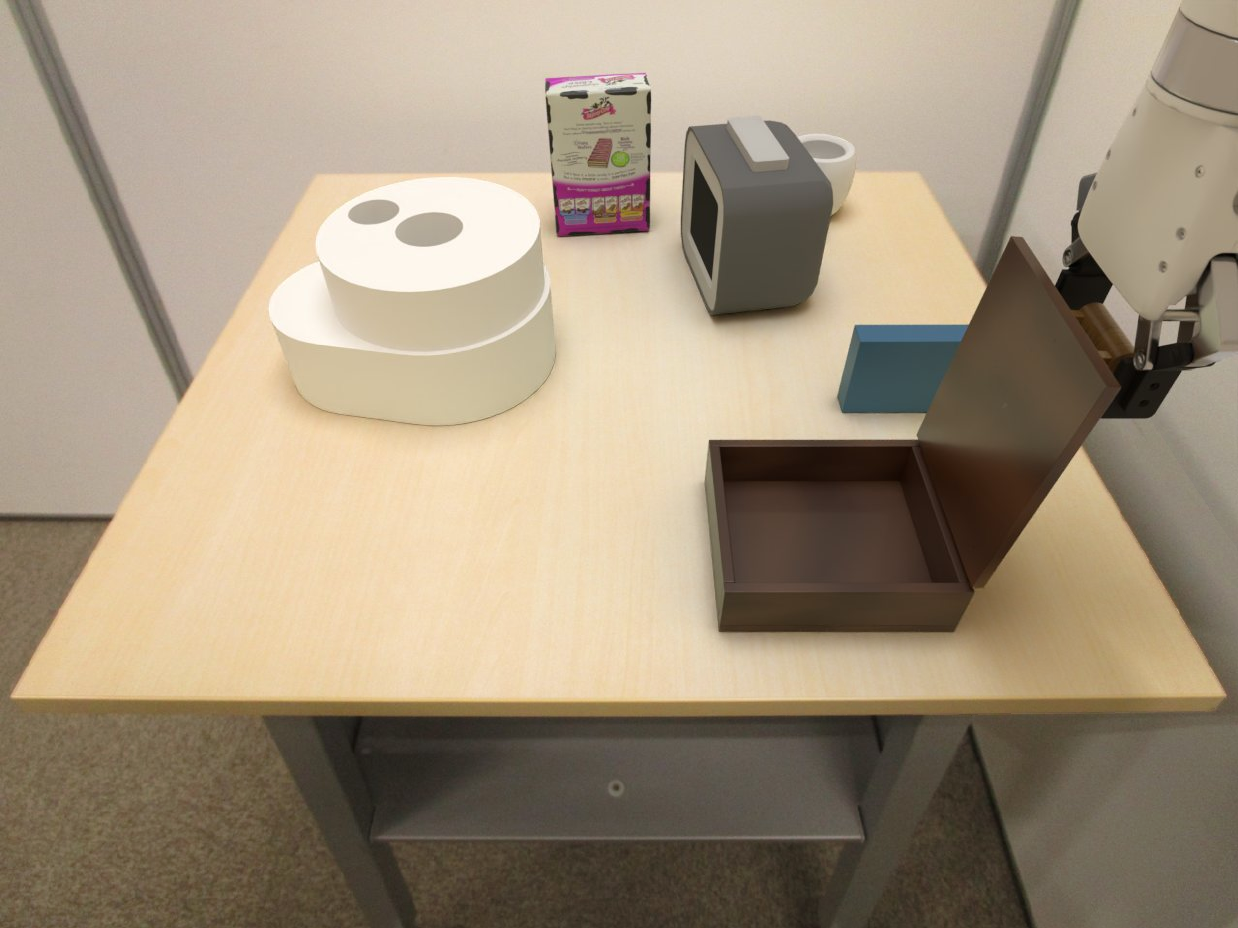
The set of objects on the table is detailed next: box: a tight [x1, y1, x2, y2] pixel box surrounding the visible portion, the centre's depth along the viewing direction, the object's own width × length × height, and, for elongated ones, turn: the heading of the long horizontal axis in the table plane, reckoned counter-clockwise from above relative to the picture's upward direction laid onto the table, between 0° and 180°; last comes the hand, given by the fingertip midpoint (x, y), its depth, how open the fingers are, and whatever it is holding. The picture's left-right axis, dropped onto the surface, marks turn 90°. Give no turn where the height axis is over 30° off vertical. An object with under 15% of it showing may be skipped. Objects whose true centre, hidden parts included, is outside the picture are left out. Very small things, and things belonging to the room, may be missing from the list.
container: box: [268, 176, 557, 427], centre depth 74 cm, size 20×25×14 cm
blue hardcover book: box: [836, 324, 969, 414], centre depth 71 cm, size 12×2×8 cm, turn 90°
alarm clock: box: [680, 115, 833, 316], centre depth 83 cm, size 16×11×16 cm
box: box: [704, 439, 976, 633], centre depth 61 cm, size 17×15×5 cm
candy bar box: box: [544, 72, 652, 237], centre depth 91 cm, size 11×5×16 cm, turn 95°
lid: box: [916, 235, 1135, 589], centre depth 52 cm, size 17×15×5 cm
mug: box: [797, 133, 857, 217], centre depth 95 cm, size 12×8×8 cm
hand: (1092, 366), depth 49 cm, fingers open, 8 cm apart
